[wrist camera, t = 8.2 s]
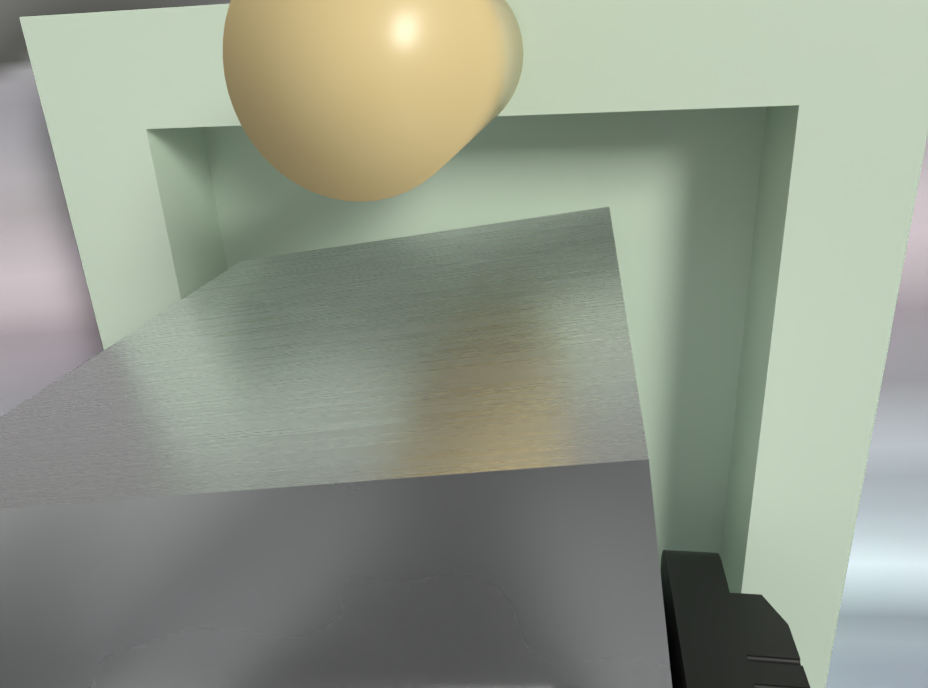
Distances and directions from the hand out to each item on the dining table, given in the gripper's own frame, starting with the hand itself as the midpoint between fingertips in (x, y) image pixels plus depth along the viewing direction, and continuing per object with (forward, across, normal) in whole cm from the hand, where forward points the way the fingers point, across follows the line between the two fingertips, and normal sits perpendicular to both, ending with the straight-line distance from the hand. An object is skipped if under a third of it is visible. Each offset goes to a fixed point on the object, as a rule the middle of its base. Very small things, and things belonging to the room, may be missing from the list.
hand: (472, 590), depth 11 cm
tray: (+3, 0, 0) cm, 3 cm away
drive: (+1, 0, 0) cm, 1 cm away
